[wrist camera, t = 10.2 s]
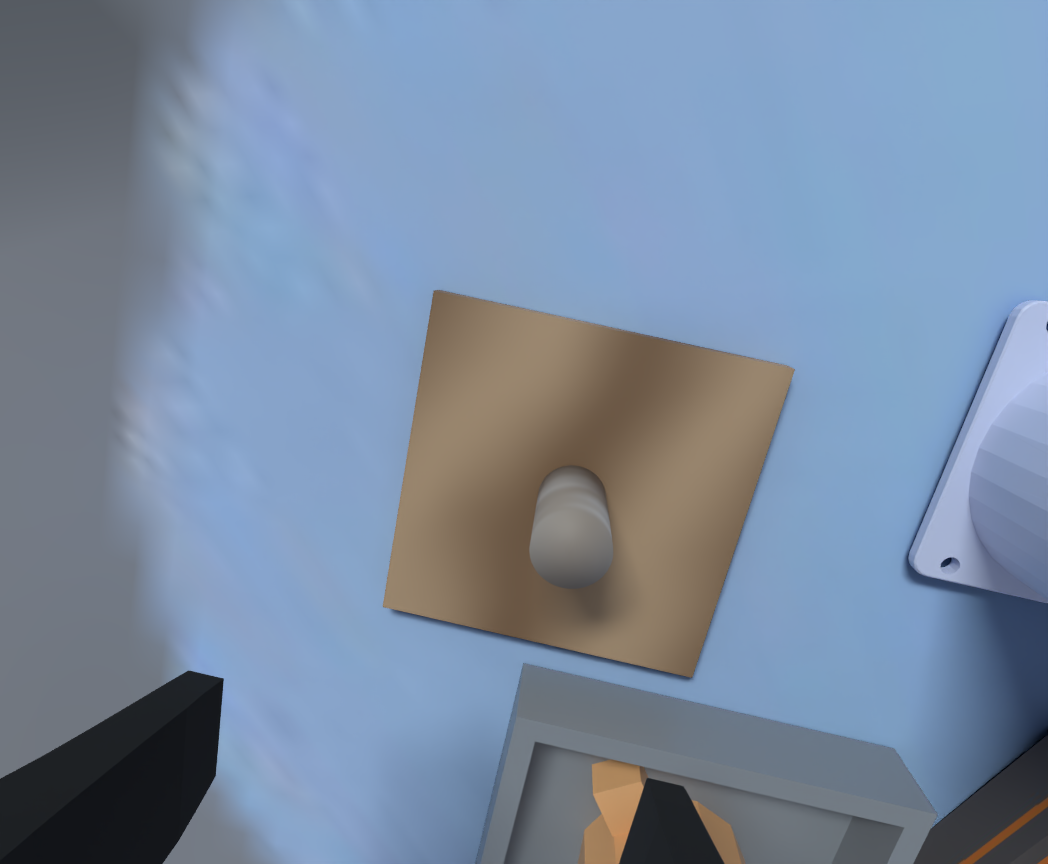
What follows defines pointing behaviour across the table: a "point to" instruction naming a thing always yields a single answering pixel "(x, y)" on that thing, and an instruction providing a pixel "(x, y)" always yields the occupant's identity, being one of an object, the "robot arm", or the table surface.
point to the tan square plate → (577, 481)
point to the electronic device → (998, 819)
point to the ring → (618, 803)
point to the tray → (696, 777)
